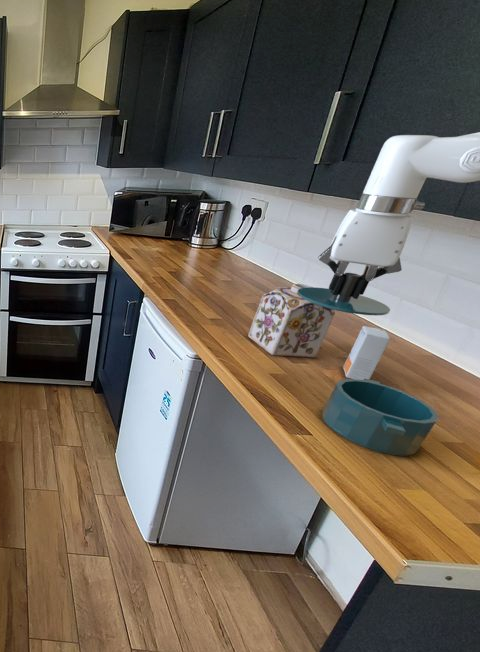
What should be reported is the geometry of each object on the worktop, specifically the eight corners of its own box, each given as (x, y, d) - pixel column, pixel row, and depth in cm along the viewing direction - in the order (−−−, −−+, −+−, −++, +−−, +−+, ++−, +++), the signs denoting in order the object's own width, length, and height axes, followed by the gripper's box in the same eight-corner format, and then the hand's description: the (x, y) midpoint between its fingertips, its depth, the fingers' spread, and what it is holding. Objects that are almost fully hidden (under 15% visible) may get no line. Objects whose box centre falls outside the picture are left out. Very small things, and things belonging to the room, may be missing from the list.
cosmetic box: (341, 367, 102) (362, 325, 97) (364, 373, 100) (386, 330, 95) (345, 377, 98) (366, 333, 93) (368, 383, 95) (391, 339, 91)
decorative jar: (246, 336, 117) (267, 277, 110) (286, 338, 117) (310, 280, 109) (272, 356, 106) (297, 293, 99) (316, 359, 106) (346, 295, 99)
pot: (401, 418, 83) (419, 388, 80) (433, 476, 68) (457, 442, 65) (316, 395, 90) (330, 366, 87) (328, 443, 75) (345, 410, 72)
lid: (378, 302, 87) (392, 273, 85) (396, 324, 76) (414, 292, 73) (293, 287, 95) (304, 260, 92) (299, 306, 83) (311, 275, 80)
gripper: (436, 208, 76) (390, 299, 83) (327, 199, 84) (294, 282, 91) (451, 213, 70) (400, 309, 78) (333, 203, 78) (297, 291, 86)
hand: (343, 294), depth 84 cm, fingers closed on lid, 2 cm apart
